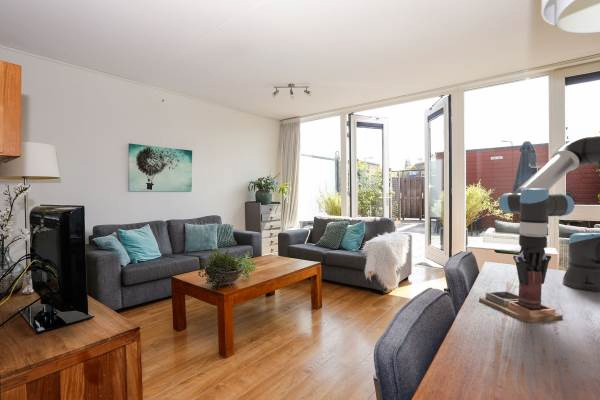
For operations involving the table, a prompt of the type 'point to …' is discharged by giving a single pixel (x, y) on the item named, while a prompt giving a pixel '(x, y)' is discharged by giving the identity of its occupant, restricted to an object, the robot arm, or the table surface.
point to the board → (518, 307)
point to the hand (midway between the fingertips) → (530, 304)
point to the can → (531, 291)
